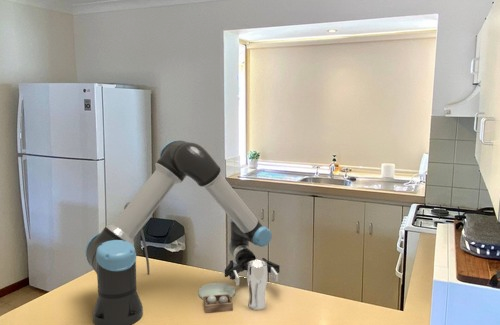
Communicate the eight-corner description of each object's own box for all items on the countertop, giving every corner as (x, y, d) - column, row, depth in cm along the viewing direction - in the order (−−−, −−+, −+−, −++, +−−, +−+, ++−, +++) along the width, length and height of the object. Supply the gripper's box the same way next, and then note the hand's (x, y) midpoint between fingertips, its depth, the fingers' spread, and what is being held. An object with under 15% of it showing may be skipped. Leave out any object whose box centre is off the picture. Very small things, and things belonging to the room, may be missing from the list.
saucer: (200, 303, 140) (200, 300, 140) (197, 287, 153) (197, 284, 152) (237, 299, 143) (237, 296, 143) (231, 284, 155) (231, 281, 155)
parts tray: (205, 313, 133) (205, 305, 133) (203, 303, 140) (203, 296, 140) (232, 310, 135) (232, 303, 135) (229, 300, 142) (229, 293, 142)
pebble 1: (207, 307, 136) (207, 298, 135) (206, 303, 139) (206, 294, 138) (217, 306, 136) (217, 297, 136) (215, 302, 140) (215, 293, 139)
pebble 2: (219, 308, 136) (219, 298, 135) (218, 303, 139) (218, 294, 138) (228, 307, 136) (228, 298, 136) (227, 302, 139) (227, 293, 139)
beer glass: (249, 312, 134) (250, 268, 132) (244, 302, 141) (244, 260, 139) (269, 309, 136) (270, 266, 134) (263, 300, 143) (264, 258, 141)
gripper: (275, 264, 163) (292, 287, 143) (212, 269, 158) (221, 293, 137) (275, 246, 162) (292, 266, 142) (212, 250, 157) (221, 272, 136)
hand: (257, 279), depth 139 cm, fingers open, 13 cm apart
